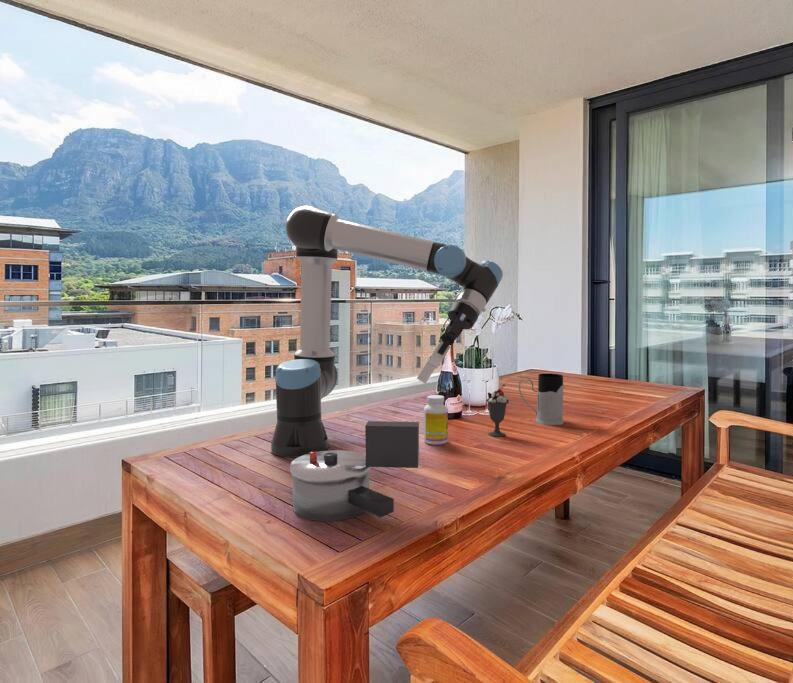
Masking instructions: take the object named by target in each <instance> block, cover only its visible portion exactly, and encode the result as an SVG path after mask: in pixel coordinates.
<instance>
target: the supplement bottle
mask: <svg viewBox="0 0 793 683" xmlns="http://www.w3.org/2000/svg"><path fill="white" fill-rule="evenodd" d="M426 400H427V404H426V405H425V406H424V407H423V441H424V442H425V444H428V445H434V446H436V445H437V446H439V445H440V446H441V445H444V444H446V443H447V442H448V440H449V438H448V437H449V434H448V433H449V430H448V428H449V426H448V425H449V423H448V422H449V418H448V416H449V412H448V407H447V405H445V404H444V403H445V396H444V395H439V394H432V395H427V399H426Z"/></svg>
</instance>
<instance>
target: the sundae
mask: <svg viewBox="0 0 793 683" xmlns="http://www.w3.org/2000/svg"><path fill="white" fill-rule="evenodd" d="M504 387H506V385H505V384H503V385H502V386H501V387H499V388H498V389H497V390H495V391H493V392H492V393H491V392H487V397H488V398H486V400H485V401H486V402H487V405H488V406H487V407H488V412H489V413H488V415H489V419H490V420H491V421H492V422H493V423H494V430H493V431H490V432H488V435H489V436H490V437H493V438H494V437H495V438H501V437H502V438H503V437H505V436H506V433H505V432H502V431H501V430H500V423H502V422H503V420H504V419H505V416H506V409H507V404H509V402H510V400H509V399H508V398H507V397H506V396H505V392H503V389H504Z"/></svg>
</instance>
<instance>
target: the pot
mask: <svg viewBox="0 0 793 683" xmlns="http://www.w3.org/2000/svg"><path fill="white" fill-rule="evenodd" d="M291 478H292V479H291V482H292V484H291V485H292V510H293V512H294V513H295V514H296V515H297V516H299V517H300V518H302V519H306V520H310V521H313V522H340V521H344V520H345V521H346V520H348V519H349V520H350V519H352V518H355V517H358V516H360V515H362V514H363V513H365V512H368V513H370V514H372V515H373V516H377V517H379V518H382V517H385V516H388V515H390V514H393V513H394V512H395V504H394V502H395V501H394V500H395V499H394V498H393V497H390V496H388V495H386V494H384V493H380V492H378V491H376V490H373V489H371V488H370V471H369V472H368V473H367V474H366V475H364V476H362V477H360V478H358V479H354V480H351V481H346V482H340V483H328V484H321V483H310V482H305V481H301V480H298V479H296V478H295V477H293V476H292V475H291Z"/></svg>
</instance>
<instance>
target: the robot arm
mask: <svg viewBox="0 0 793 683" xmlns="http://www.w3.org/2000/svg"><path fill="white" fill-rule="evenodd" d="M285 223H286V225H285V230H286V234H287V237H288V239H289V241H290V242H291V243H292V244H293V245H294V246H295V247H296V250H295V252H296V253H295V254H296V255H295V258H296V260H297V261H298V262H299V263H300V265H301V266H300V267H301V270H300V271H301V274H300V275H301V276H300V277H301V278H300V280H301V281H300V285H301V286H300V316H299V317H300V319H299V321H300V323H299V326H300V327H299V347H298V349H297V350H296V351H295V352H294V354H293V358H294V359H292V360H286V361H284V362H282V363H281V362H280V363H279V365H277V367H276V370H275V378H274V380H275V395H276V397H275V398H276V399H275V400H276V402H275V403H276V426H275V428H274V431H273V434H272V439H271V443H270V448H271V449H270V450H271V453H272V452H273V454H274V455H276V456H279V457H284V458H287V457H288V458H298V457H300V456H303V455H306V454H310V452H311V451H316V452H320V451H328V449H329V445H330V444H329V436H328V435H327V430H326V428H325V426H324V423H323V421H322V399H323V398H325V397H327V396H328V395H329V394H331V393H332V391H333V390H334V389H335V387H336V385H337V383H338V376H339V373H338V369H337V367H336V364H335V356H336V355H335V352H333V351H332V350H331V348H330V347H331V345H330V344H331V343H330V342H331V315H332V314H331V311H332V310H331V309H332V308H331V307H332V306H331V304H332V276H333V275H332V273H333V272H332V271H333V265H334V264H335V263H336V262H337V261H338V252H339V251H341V252H346V253H351V254H355V255H359V256H363V257H368V258H370V259H371V258H372V259H376V260H380V261H382V262H387V263H392V264H395V265H396V264H397V265H400V266H403V267H404V266H405V267H408V268H412V269H416V270H420V271H426V272H429V273H433V274H435V275H440V276H443V277H445V278H448V279H449V280H451V281H453V282H454V283H455V284H458V285H459V286H460V287H462V288H463V289H462V290H461V291H460V292H459V294H458V296H457V297H456V299H455V301H454V303H453V304H452V306H451V307H450V309H449V310H448V312H447V318H448V320H449V323H448V324H447V326H446V328H445V331H444V333H443V334H442V335H441V336H440V338H439V340H440V342H439V343H438V344H437V347H436V348H435V349H434V351H433V353H432V354H431V356H430V357H428V360H427V362H426V363H425V364H424V366H423V367H422V369H421V370H420V372H419V374H418V375H417V377H416V379H417V380H418V381H420V382H422V384H423V383H424V384H427V382H428V380H429V378H431V376H432V374H433V372H434V371H435V369H437V370H438V367H439V366H440V365H441V363H442V361H443V360H444V358H445V356H446V355H447V353H448V352H449V351H450V348H451V346H453V344H454V342H455V341H456V340H457V339H458V338H459V336H460V335H461V334H462V332H463V331H464V330H470V329H473V327H474V325H475V324H476V322H477V321H478V320H479V317H480V315H482V314H481V313H482V312H486V305H487V304H488V302H490V300H491V298H492V296H493V295H494V293H495V292H496V290H497V288H498V287H499V285H500V282H501V281H502V279H503V276H504V275H503V270H502V268H501V267H500V266H499V264H497V263H496V262H495V261H490V260H488V259H487V260H482V261H480V263H478V262H475V261H474V260H472V259H470V258H469V257H468V256H467V255H466V253H465V252H464V251H463V249H462V248H460V246H457V245H454V244H447V243H445V242H444V243H440V242H435V241H432V240H428V239H424V238H420V237H415V236H411V235H407V234H404V233H403V234H402V233H399V232H395V231H391V230H388V229H387V230H386V229H382V228H378V227H375V226H369V225H367V224H362V223H356V222H353V221H349V220H344V219H340V218H339V216H338V214H336V213H332V212H328V211H326V210H323V209H320V208H319V207H317V206H315V205H302V206H299V207H296V208H295V209H293V210H291V213H290V214H289V216H288V217H287V219H286V222H285Z"/></svg>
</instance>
